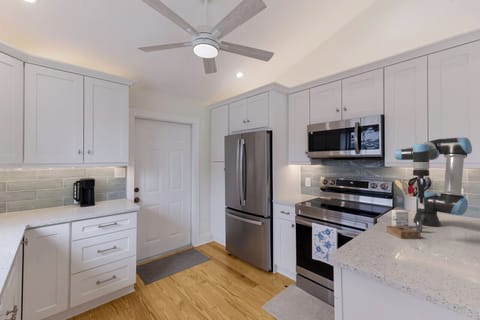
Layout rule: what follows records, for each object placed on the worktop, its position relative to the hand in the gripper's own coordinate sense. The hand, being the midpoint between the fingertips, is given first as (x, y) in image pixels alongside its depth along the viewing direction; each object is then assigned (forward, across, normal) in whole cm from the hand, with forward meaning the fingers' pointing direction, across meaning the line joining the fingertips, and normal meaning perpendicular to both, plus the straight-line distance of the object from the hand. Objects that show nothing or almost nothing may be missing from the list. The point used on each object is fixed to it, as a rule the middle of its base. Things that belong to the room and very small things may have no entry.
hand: (420, 207), depth 127 cm
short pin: (+19, -15, 0) cm, 24 cm away
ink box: (+19, -19, -10) cm, 29 cm away
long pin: (+2, 0, 0) cm, 2 cm away
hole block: (+19, 0, -9) cm, 21 cm away
